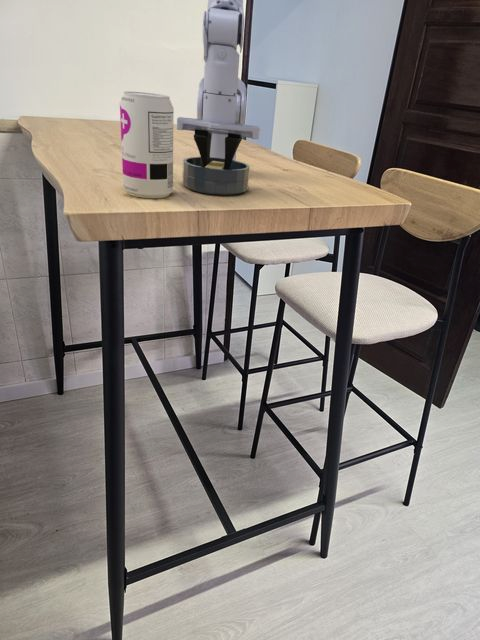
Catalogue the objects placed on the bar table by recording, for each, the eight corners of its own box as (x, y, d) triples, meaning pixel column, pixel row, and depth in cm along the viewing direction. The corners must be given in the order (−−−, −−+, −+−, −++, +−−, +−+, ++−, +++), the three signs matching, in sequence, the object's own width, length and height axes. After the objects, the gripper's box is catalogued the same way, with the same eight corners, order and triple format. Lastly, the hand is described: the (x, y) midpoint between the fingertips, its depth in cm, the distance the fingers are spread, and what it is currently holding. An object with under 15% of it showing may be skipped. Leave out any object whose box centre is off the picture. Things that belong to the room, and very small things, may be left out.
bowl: (190, 178, 95) (190, 154, 93) (250, 185, 95) (252, 161, 93) (175, 191, 84) (176, 164, 82) (243, 199, 84) (245, 173, 82)
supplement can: (122, 197, 77) (118, 93, 69) (124, 186, 84) (120, 89, 76) (173, 200, 79) (174, 98, 71) (171, 189, 86) (172, 95, 78)
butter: (211, 179, 92) (212, 160, 91) (226, 181, 92) (227, 162, 90) (204, 186, 86) (204, 166, 85) (220, 189, 86) (221, 168, 84)
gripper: (172, 89, 78) (172, 175, 85) (260, 100, 78) (252, 185, 85) (182, 88, 84) (181, 168, 91) (263, 98, 84) (256, 178, 91)
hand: (216, 176), depth 89 cm, fingers closed on butter, 3 cm apart
